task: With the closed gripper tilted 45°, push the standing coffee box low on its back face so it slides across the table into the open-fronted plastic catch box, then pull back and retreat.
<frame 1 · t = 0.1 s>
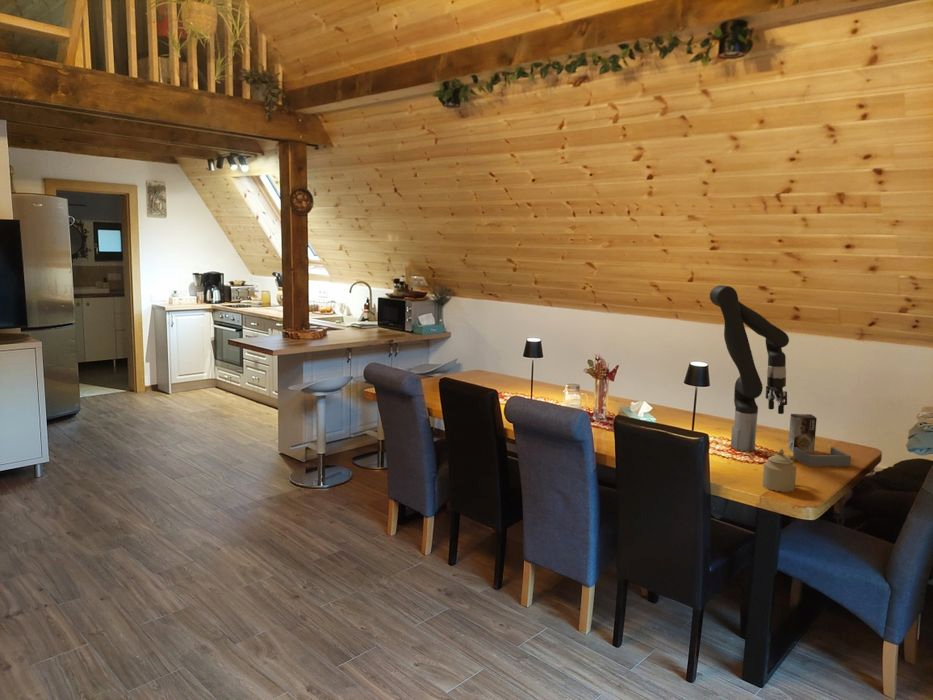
hand: (775, 411, 295), 17 cm above the table, tool pointing down, fingers open, 8 cm apart
coffee box: (800, 451, 296), on the table
sugar bowl: (777, 486, 251), on the table
catch box: (820, 461, 280), on the table
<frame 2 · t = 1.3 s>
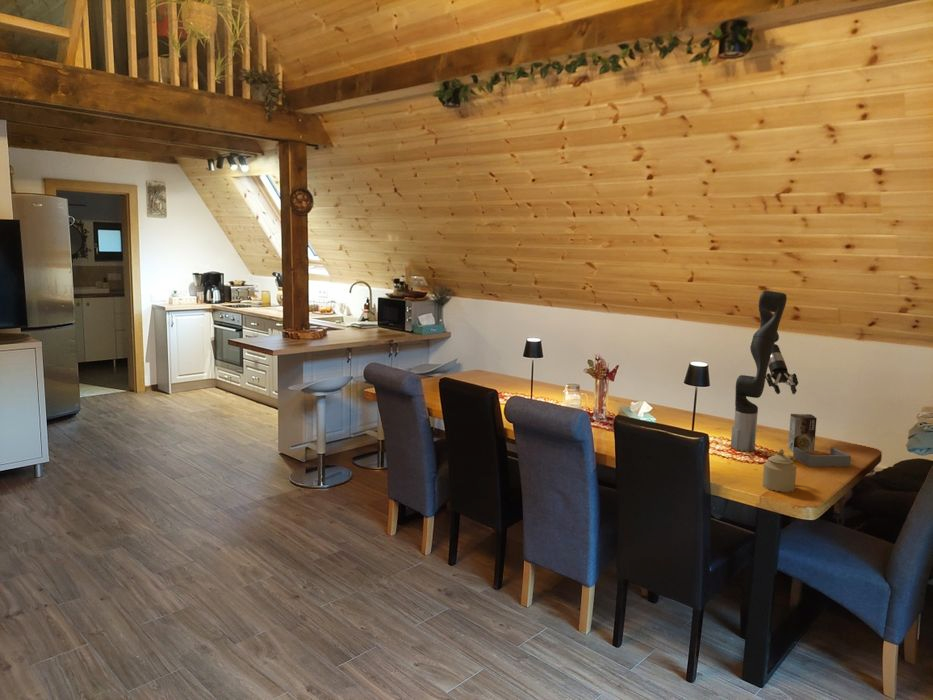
hand: (786, 393, 309), 23 cm above the table, tool tilted 45°, fingers open, 7 cm apart
nothing on the table moved.
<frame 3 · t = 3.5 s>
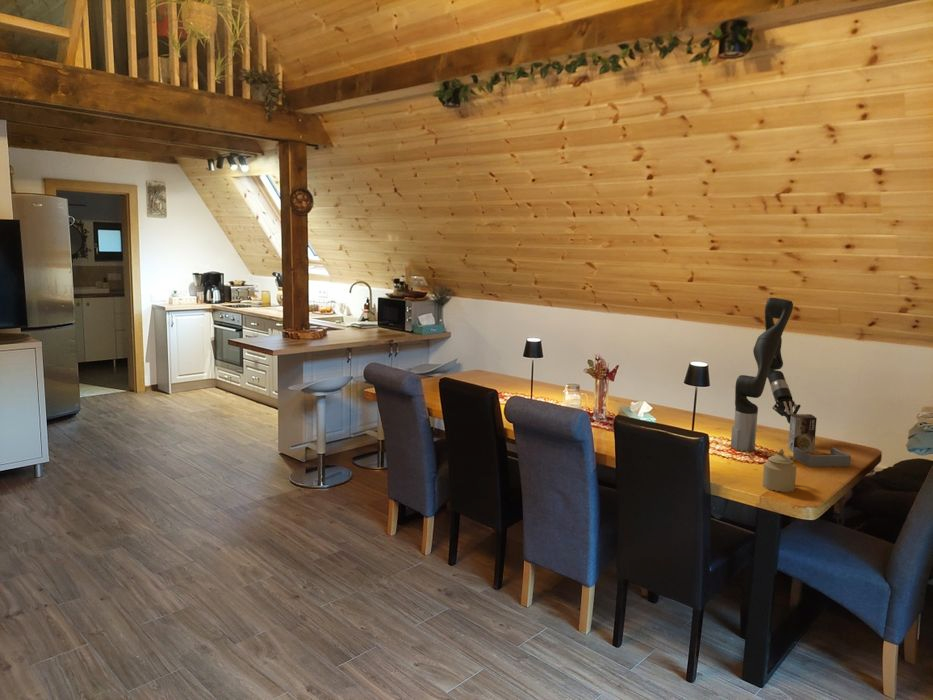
hand: (792, 423, 304), 10 cm above the table, tool tilted 45°, fingers closed
nothing on the table moved.
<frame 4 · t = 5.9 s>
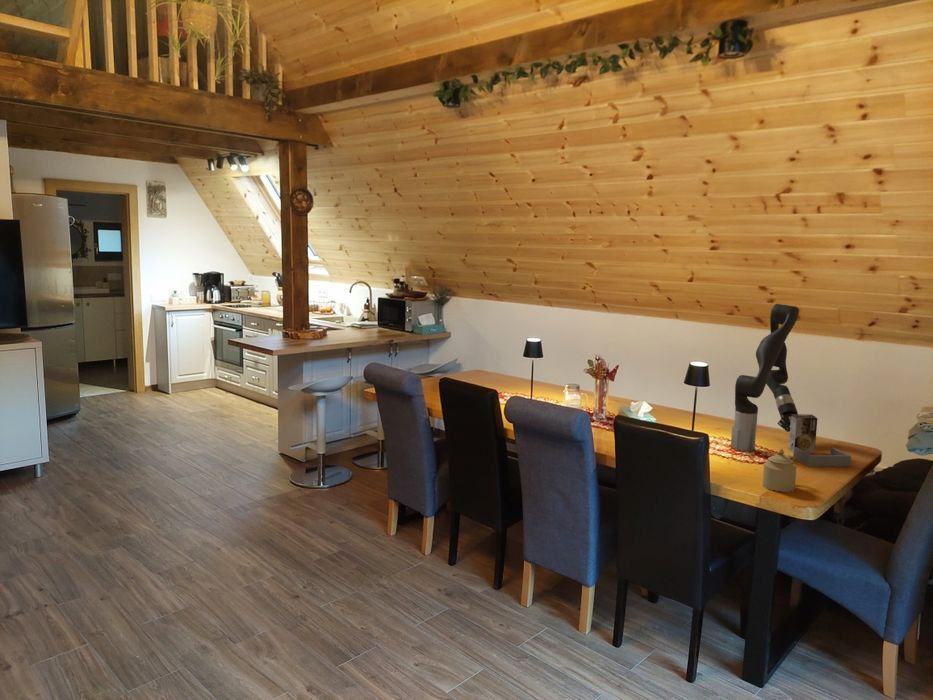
hand: (797, 439, 299), 4 cm above the table, tool tilted 45°, fingers closed
coffee box: (801, 451, 296), on the table, touching gripper
everything else where it was.
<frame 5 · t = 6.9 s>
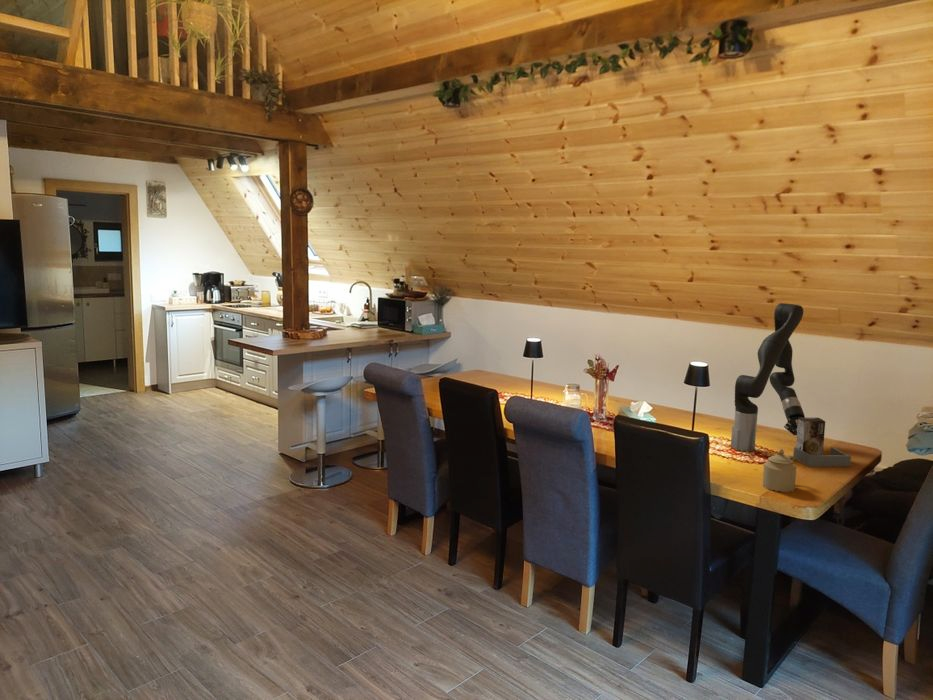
hand: (804, 442, 293), 4 cm above the table, tool tilted 45°, fingers closed
coffee box: (808, 455, 290), on the table, touching gripper
everything else where it was.
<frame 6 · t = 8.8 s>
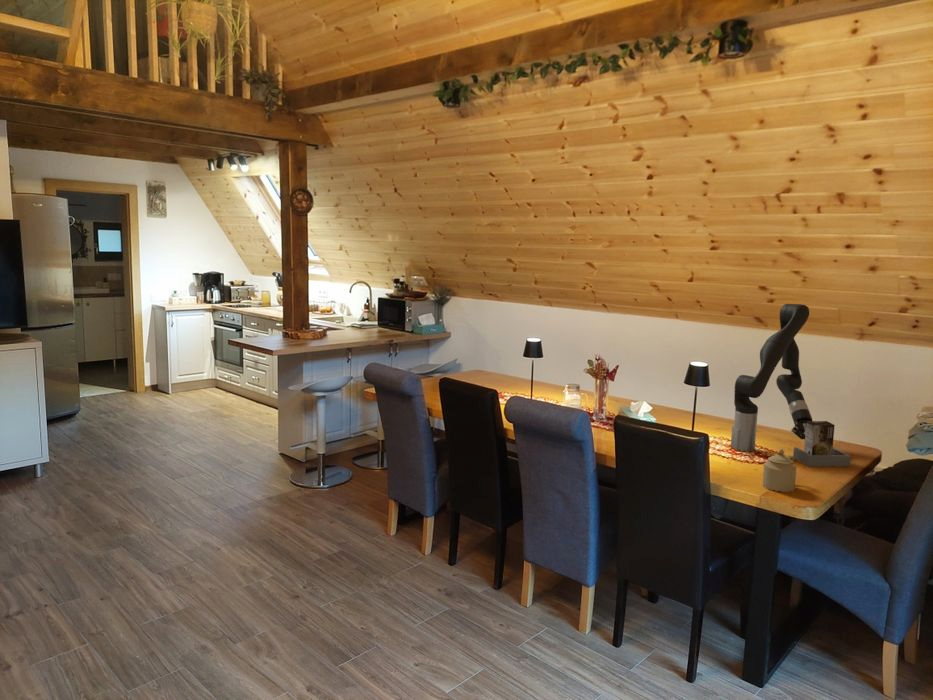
hand: (812, 447, 287), 4 cm above the table, tool tilted 45°, fingers closed
coffee box: (817, 459, 284), on the table, touching gripper
everything else where it was.
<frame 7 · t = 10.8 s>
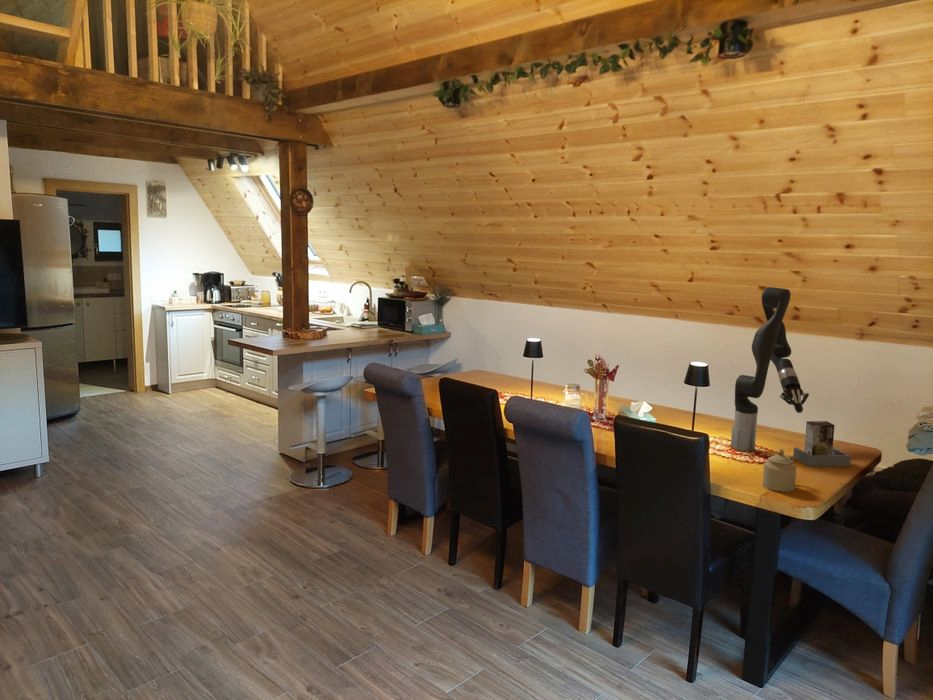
hand: (800, 411, 295), 17 cm above the table, tool tilted 45°, fingers closed
coffee box: (817, 459, 284), on the table
everything else where it was.
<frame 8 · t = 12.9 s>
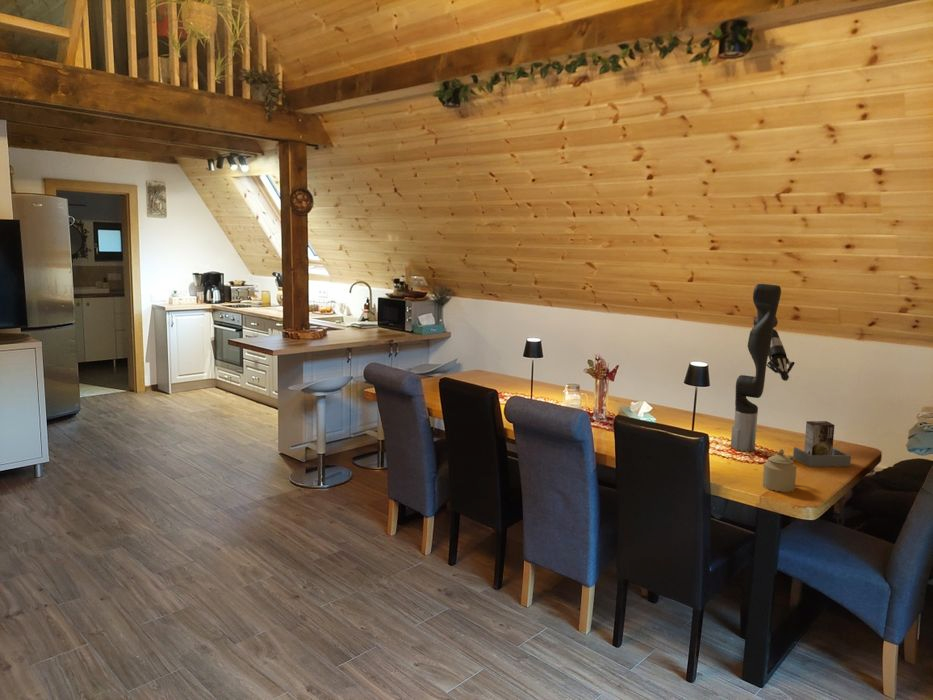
hand: (786, 379, 303), 30 cm above the table, tool tilted 45°, fingers closed
nothing on the table moved.
at the end: coffee box inside the target area on the catch box (2.9 cm from its centre), point 0.0 cm above the catch box's base; coffee box moved 12.6 cm from its start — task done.
